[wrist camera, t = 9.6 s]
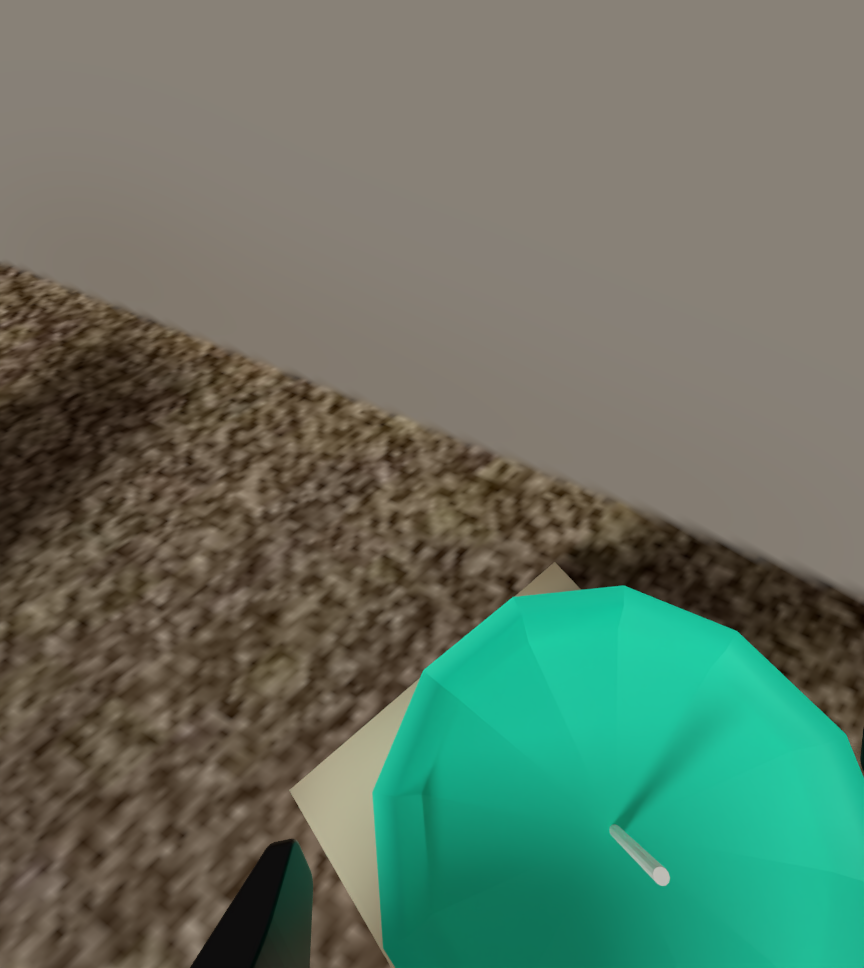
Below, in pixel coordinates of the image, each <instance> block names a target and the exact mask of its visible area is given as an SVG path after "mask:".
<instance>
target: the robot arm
mask: <svg viewBox="0 0 864 968" xmlns="http://www.w3.org/2000/svg"><path fill="white" fill-rule="evenodd" d="M861 766H862V769H863V771H864V729H863V738H862V748H861ZM312 901H313V880H312V874H311V871H310V868H309V866H308V863H307V861H306V859H305V856H304V854H303V852H302V850H301V847H300V845H299V843H298V841H296V840H295V839H288V840H283V841H278V842H274V843H272V844H270V845H269V846H268V847H267V848H266V850H265V851H264V853H263V854H262V856H261V857H260V859H259V860H258V862H257V864H256V865H255V867H254V868H253V870H252V871H251V873H250V875H249V876H248V878H247V879H246V881H245V882H244V884H243V886H242V887H241V889H240V890H239V892H238V893H237V895H236V896H235V898H234V900H233V901H232V903H231V904H230V906H229V907H228V909H227V911H226V912H225V914H224V915H223V917H222V918H221V920H220V922H219V923H218V925H217V926H216V928H215V929H214V931H213V932H212V934H211V936H210V937H209V939H208V940H207V942H206V943H205V945H204V947H203V948H202V950H201V951H200V953H199V954H198V956H197V958H196V959H195V961H194V962H193V964H192V965H191V967H190V968H310V945H311V923H312Z"/></svg>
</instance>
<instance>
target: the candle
mask: <svg viewBox="0 0 864 968" xmlns="http://www.w3.org/2000/svg"><path fill="white" fill-rule="evenodd" d="M372 796H373V811H374V825H375V840H376V854H377V869H378V883H379V898H380V912H381V927H382V942H383V949H384V951H385V952H386V954H387V956H388V957H389V959H390V960H391V962H392V964H393V965H394V967H395V968H864V777H863V775H862V772H861V770H860V767H859V765H858V762H857V760H856V758H855V755H854V753H853V750H852V748H851V745H850V743H849V740H848V738H847V735H846V734H845V733H844V732H843V731H842V730H841V729H840V728H839V727H838V726H837V725H836V724H835V723H833V722H832V721H831V720H830V719H829V718H828V717H827V716H826V715H825V714H824V713H823V712H822V711H821V710H820V709H819V708H818V707H817V706H816V705H815V704H813V703H812V702H811V701H810V700H809V699H808V698H807V697H806V696H805V695H804V694H803V693H802V692H801V691H800V690H799V689H798V688H797V687H796V686H794V685H793V684H792V683H791V682H790V681H789V680H788V679H787V678H786V677H785V676H784V675H783V674H782V673H781V672H780V671H779V670H778V669H777V668H776V667H774V666H773V665H772V664H771V663H770V662H769V661H768V660H767V659H766V658H765V657H764V656H763V655H762V654H761V653H760V652H759V651H758V650H757V649H755V648H754V647H753V646H752V645H751V644H750V643H749V642H748V641H747V640H746V639H745V638H744V637H743V636H742V635H741V634H740V633H739V632H738V631H736V630H733V629H731V628H728V627H726V626H723V625H721V624H718V623H716V622H713V621H711V620H708V619H706V618H703V617H701V616H698V615H696V614H693V613H691V612H688V611H686V610H684V609H681V608H679V607H676V606H674V605H671V604H669V603H666V602H664V601H661V600H659V599H656V598H654V597H651V596H649V595H646V594H644V593H641V592H639V591H636V590H634V589H631V588H629V587H626V586H624V585H623V586H613V587H604V588H594V589H584V590H575V591H565V592H555V593H546V594H536V595H526V596H516V597H512V598H511V599H510V600H509V601H507V602H506V603H505V604H504V605H503V606H501V607H500V608H499V609H498V610H496V611H495V612H494V613H493V614H492V615H490V616H489V617H488V618H487V619H485V620H484V621H483V622H482V623H481V624H479V625H478V626H477V627H476V628H474V629H473V630H472V631H471V632H470V633H468V634H467V635H466V636H465V637H463V638H462V639H461V640H460V641H459V642H457V643H456V644H455V645H454V646H452V647H451V648H450V649H449V650H447V651H446V652H445V653H444V654H443V655H441V656H440V657H439V658H438V659H436V660H435V661H434V662H433V663H432V664H430V665H429V666H428V667H427V668H425V669H424V670H423V672H422V674H421V677H420V679H419V682H418V684H417V686H416V689H415V691H414V694H413V696H412V698H411V701H410V703H409V705H408V708H407V710H406V713H405V715H404V717H403V720H402V722H401V725H400V727H399V729H398V732H397V734H396V737H395V739H394V741H393V744H392V746H391V749H390V751H389V753H388V756H387V758H386V760H385V763H384V765H383V768H382V770H381V772H380V775H379V777H378V780H377V782H376V784H375V787H374V789H373V792H372Z"/></svg>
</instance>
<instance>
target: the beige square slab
mask: <svg viewBox="0 0 864 968" xmlns="http://www.w3.org/2000/svg"><path fill="white" fill-rule="evenodd" d="M575 590H581V589H580V588H579V587H578V586H577V585H576V584H575V583H574V582H573V581H572V580H571V579H570V578H569V576H568V575H567V574H566V573H565V572H564V571H563V570H562V569H561V568H560V567H559V566H558V565H557V564H556V563H555V562H554V563H553V564H552V565H551V566H549V567H548V568H547V569H546V570H545V571H544V572H543V573H541V574H540V575H539V576H538V577H537V578H536V579H534V580H533V581H532V582H531V583H530V584H529V585H527V586H526V587H525V588H524V589H523V590H522V591H520V592H519V593H518V594H517V595H516V596H526V595H536V594H546V593H555V592H565V591H575ZM516 596H515V597H516ZM419 679H420V678H419ZM419 679H418V680H417V681H416V682H415V683H414V684H412V685H411V686H410V687H409V688H408V689H407V690H405V691H404V692H403V693H402V694H401V695H400V696H398V697H397V698H396V699H395V700H394V701H393V702H391V703H390V704H389V705H388V706H387V707H386V708H385V709H383V710H382V711H381V712H380V713H379V714H378V715H376V716H375V717H374V718H373V719H372V720H371V721H369V722H368V723H367V724H366V725H365V726H364V727H362V728H361V729H360V730H359V731H358V732H357V733H355V734H354V735H353V736H352V737H351V738H350V739H348V740H347V741H346V742H345V743H344V744H343V745H342V746H340V747H339V748H338V749H337V750H336V751H335V752H333V753H332V754H331V755H330V756H329V757H328V758H326V759H325V760H324V761H323V762H322V763H321V764H319V765H318V766H317V767H316V768H315V769H314V770H312V771H311V772H310V773H309V774H308V775H307V776H305V777H304V778H303V779H302V780H301V781H300V782H299V783H297V784H296V785H295V786H294V787H293V788H292V789H290V792H291V794H292V796H293V797H294V799H295V801H296V803H297V804H298V806H299V808H300V810H301V811H302V813H303V815H304V817H305V818H306V820H307V822H308V824H309V825H310V827H311V829H312V830H313V832H314V834H315V836H316V837H317V839H318V841H319V843H320V844H321V846H322V848H323V850H324V851H325V853H326V855H327V857H328V858H329V860H330V862H331V864H332V865H333V867H334V869H335V870H336V872H337V874H338V876H339V877H340V879H341V881H342V883H343V884H344V886H345V888H346V890H347V891H348V893H349V895H350V897H351V898H352V900H353V902H354V904H355V905H356V907H357V909H358V910H359V912H360V914H361V916H362V917H363V919H364V921H365V923H366V924H367V926H368V928H369V930H370V931H371V933H372V935H373V937H374V938H375V940H376V942H377V944H378V945H379V947H380V949H381V950H382V952H383V954H384V956H385V957H386V959H387V961H388V963H389V964H390V966H391V968H395V967H394V965H393V964H392V962H391V960H390V959H389V957H388V956H387V954H386V952H385V951H384V949H383V942H382V927H381V912H380V898H379V883H378V869H377V854H376V840H375V825H374V811H373V796H372V792H373V789H374V787H375V784H376V782H377V780H378V777H379V775H380V772H381V770H382V768H383V765H384V763H385V760H386V758H387V756H388V753H389V751H390V749H391V746H392V744H393V741H394V739H395V737H396V734H397V732H398V729H399V727H400V725H401V722H402V720H403V717H404V715H405V713H406V710H407V708H408V705H409V703H410V701H411V698H412V696H413V694H414V691H415V689H416V686H417V684H418V682H419Z"/></svg>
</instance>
